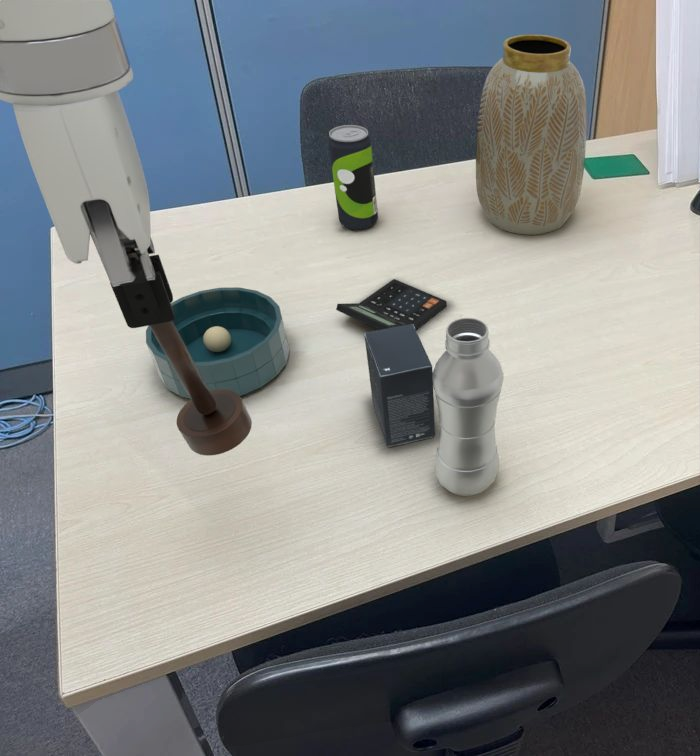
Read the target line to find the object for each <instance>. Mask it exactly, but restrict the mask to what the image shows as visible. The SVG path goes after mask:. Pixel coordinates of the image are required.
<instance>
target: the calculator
mask: <svg viewBox="0 0 700 756" xmlns="http://www.w3.org/2000/svg"><path fill="white" fill-rule="evenodd" d="M447 303H448V302H447V300H446V299H443V298H440V297H438V296H436V295H434V294H431V293H428V292H426V291H424V290H421V289H419V288H416V287H415V286H412V285H410V284H407V283H405V282H403V281H400V280H398V279H396V278H393V279H391V280H390V281H389V282H388V283H386V284H385V285H383V286H382V287H380V288H379V289H377V290H376V291H374V292H373V293H372V294H370V295H369V296H367V297H366V298H365V299H363V300H362V301H360V302H358V303H356V302H353V303H337V304H336V308H335V310H336V311H337V312H340V313H342V314H344V315H346V316H348V317H350V318H352V319H354V320H357V321H359V322H362V323H363V324H365V325H368V326H370V327H372V328H374V329H376V330H382V329H388V328H393V327H399V326H404V325H410V324H413V325H414V327H415V329H416V331H417V330H419V329H420V328H422V326H424V325H425V324H426V323H427V322H430V320H432V318H434V317H435V316H436V315H437V314H439V313H440V312H441V311H442V310H444V309H446V308H447Z"/></svg>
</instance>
